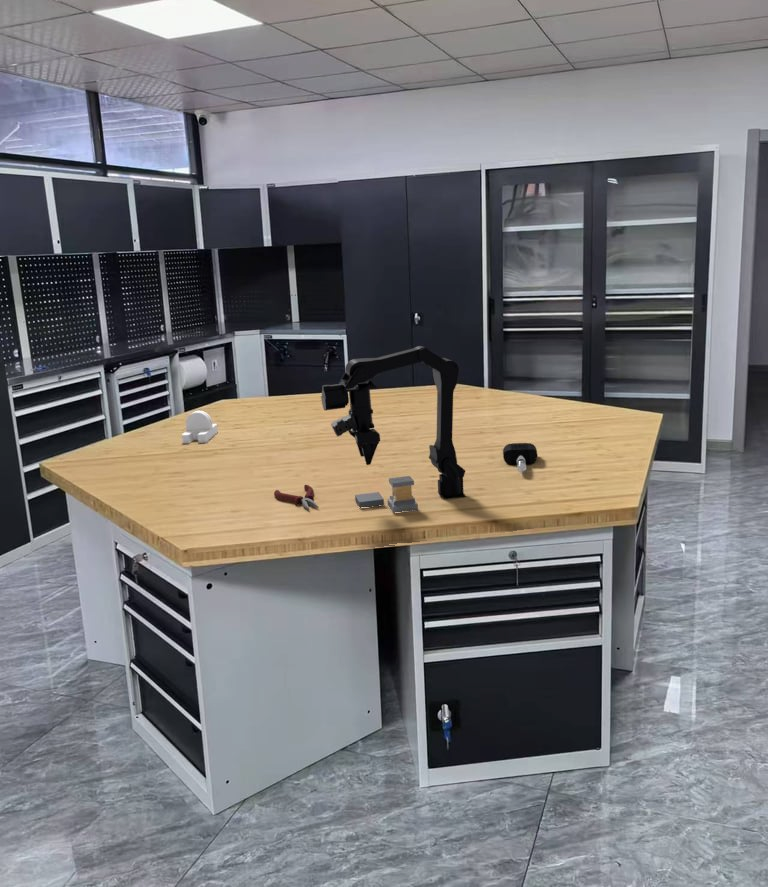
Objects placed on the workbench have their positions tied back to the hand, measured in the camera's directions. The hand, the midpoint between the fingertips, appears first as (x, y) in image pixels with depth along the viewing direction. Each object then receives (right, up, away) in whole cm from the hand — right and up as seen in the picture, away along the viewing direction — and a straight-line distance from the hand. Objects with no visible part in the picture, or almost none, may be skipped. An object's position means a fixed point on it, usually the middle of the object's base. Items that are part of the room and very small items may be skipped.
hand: (365, 460), depth 229 cm
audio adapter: (+49, -3, +34) cm, 60 cm away
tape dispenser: (-68, +7, +99) cm, 120 cm away
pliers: (-21, -13, +13) cm, 27 cm away
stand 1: (+1, -12, +6) cm, 14 cm away
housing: (+10, -11, 0) cm, 15 cm away
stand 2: (+10, -13, +1) cm, 17 cm away
